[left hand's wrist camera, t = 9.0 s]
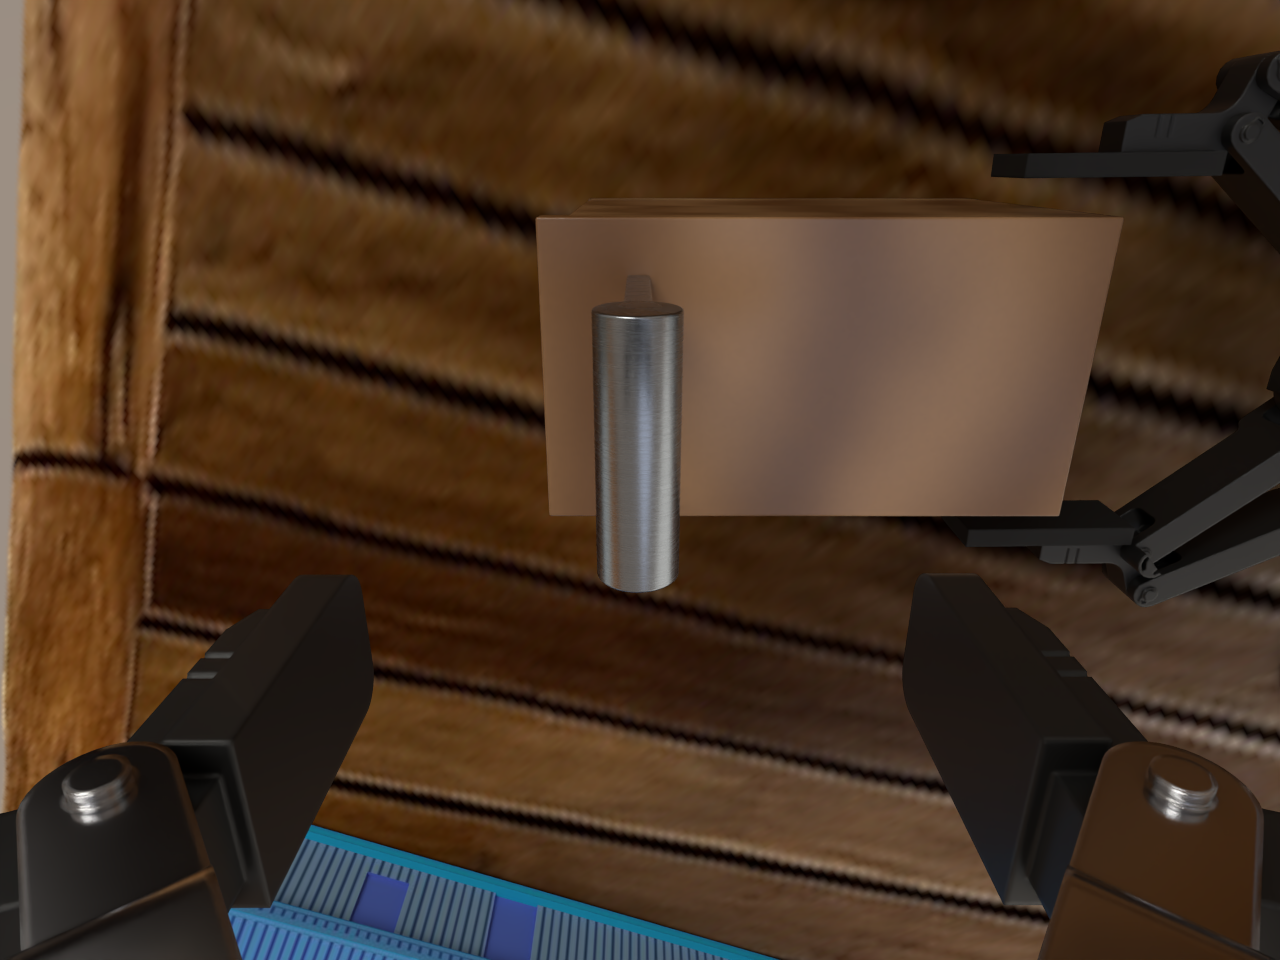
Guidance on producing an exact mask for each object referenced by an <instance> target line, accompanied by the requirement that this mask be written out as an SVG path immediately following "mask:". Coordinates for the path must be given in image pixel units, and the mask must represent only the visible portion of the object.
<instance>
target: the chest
mask: <svg viewBox="0 0 1280 960" xmlns="http://www.w3.org/2000/svg"><path fill="white" fill-rule="evenodd" d="M571 215H1101V214H1092V213H1084V212H1075V211H1067V210H1058V209H1050V208H1041V207H1033V206H1024V205H1016V204H1007V203H999V202H990V201H982V200H977V199H968V198H590V199H589V200H588V202H586V203H585V204H584V205H582V206H581V207H580V208H578V209H577V210H576V211H574V212H573V213H572V214H571Z"/></svg>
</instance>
